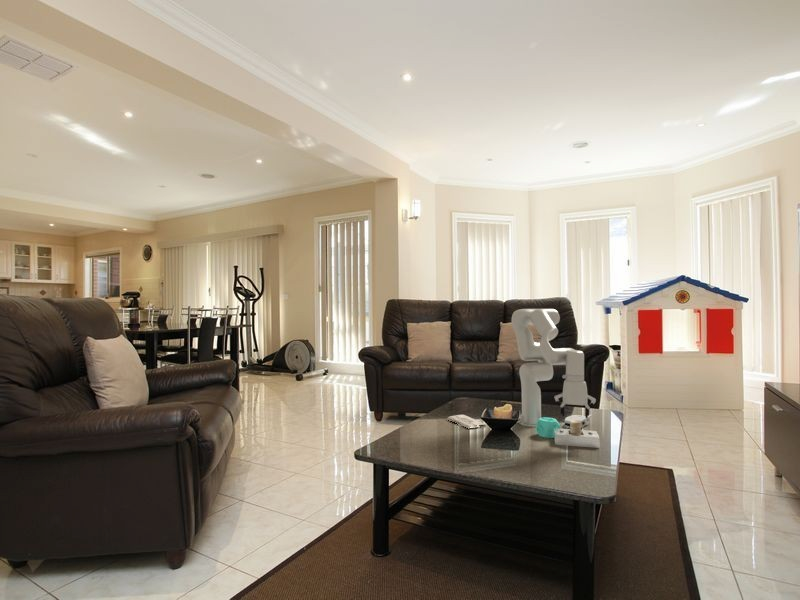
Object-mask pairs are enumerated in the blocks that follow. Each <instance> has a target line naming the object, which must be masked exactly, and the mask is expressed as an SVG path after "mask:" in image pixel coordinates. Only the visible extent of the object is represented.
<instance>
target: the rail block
mask: <svg viewBox="0 0 800 600" xmlns="http://www.w3.org/2000/svg"><path fill="white" fill-rule="evenodd" d="M553 440H554V445H555V446H568V447H570V446H572V447H584V448H593V449H595V448H596V449H600V448H601V443H600V436H599V433H598V431H596V430H587V429H584V430H583V429H581V435H575V434H570V428H560V429H558V428H554V438H553Z"/></svg>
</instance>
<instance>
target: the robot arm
mask: <svg viewBox="0 0 800 600" xmlns="http://www.w3.org/2000/svg"><path fill="white" fill-rule="evenodd" d="M560 316H561V315H560V314H559V311H558V310H556V309H554V308H521V309H517V310H515V311H514V312H513V313H512V315H511V325H512V326H511V327H512V330H513V331H514V334H515V337H516V338H515V339H516V343H517V344H516V345H517V349H518V354H519V357H520V359H521V360H522V361H528V363H524V364H521V366H520V367H519V371H518V372H519V378H520V379H519V380H520V385H521V414H519V415H520V420H518V424H519V425H521V426H524V427H529V428H536V423H537V421H538V420H539V419H540V418H542V395H541V394H542V391H541V387H540V385H538V383H537V382H544V381H550V380H552V379H553V376H554V367H553V366H559V365H561V366H562V365H565V374H562V376H561V377H562V379H565V380H564V381H563V386H562V387H563V388H562V392H560V393H558V394H557V395H554V400H555V402H556V404H557V405H558V406H559V407H560V414H561V415H562V417H565V406H566V405H573V406H575V405H576V406H585V408H584V412H585V413H584V416H585V417H586V418H588V416H589V415H590V409H591V408H592V407H594V405H595V403H596V402H597V399H596V398H595V397H593V396H591V395H589V394H588V387H587V382H586V381H585V354H584V352H583V351H582V350H579V349H578V350H577V349H574V348H572V347H560V348H559V347H556V348H553V347H552V346H551V343H550V342H551V341H552V340H554V339H555V338H556V337H557V336H558V334H559V329H558V328H557V326H556V325H557V324H559V323H560V320H561V317H560ZM530 325H532V326H534V327H535V329H536V331H537V333H538V334H539V336H540V337H541V338H540V341H537V342H535V340H534V334H533V333H532V331H531V330H530V328H529V327H528V326H530ZM529 361H537V362H529ZM560 398H562V402H561V401H560V400H559V399H560ZM588 400H590V402H589V403H588Z"/></svg>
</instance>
